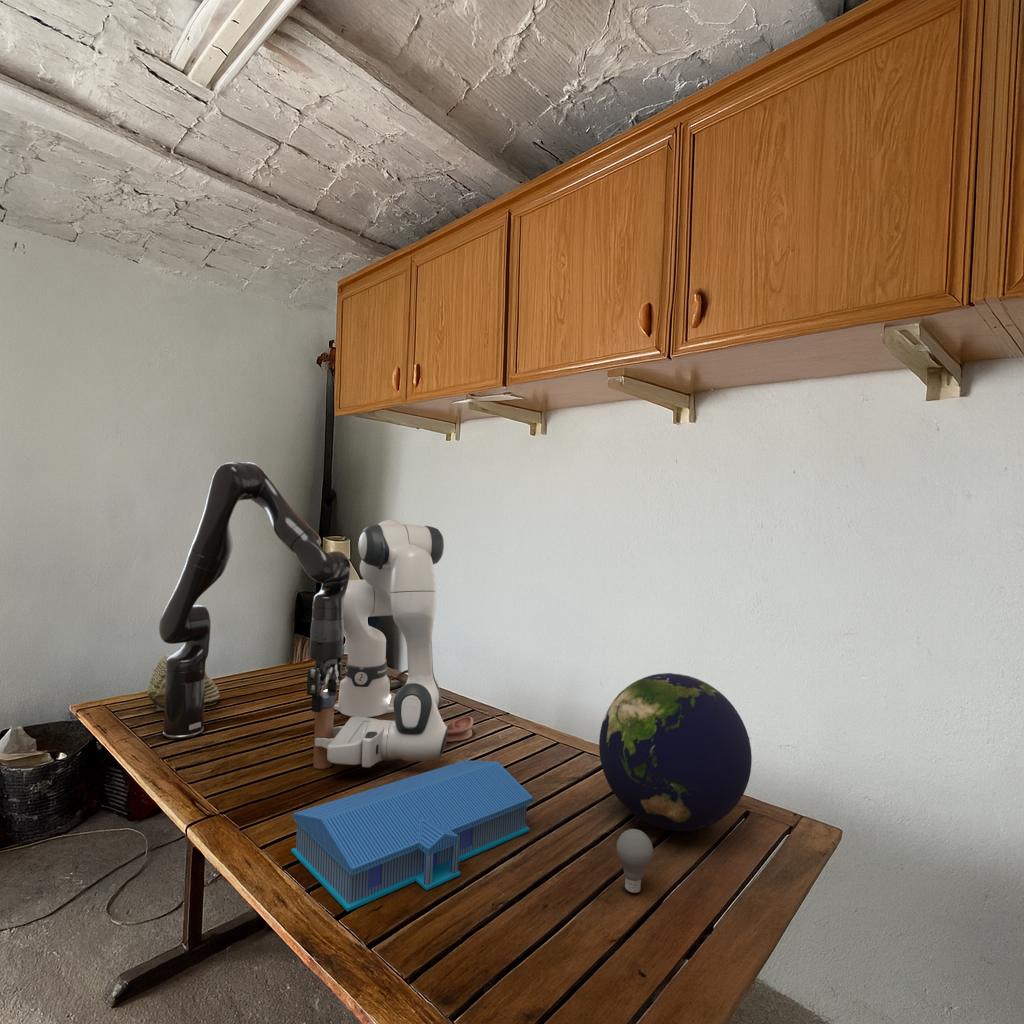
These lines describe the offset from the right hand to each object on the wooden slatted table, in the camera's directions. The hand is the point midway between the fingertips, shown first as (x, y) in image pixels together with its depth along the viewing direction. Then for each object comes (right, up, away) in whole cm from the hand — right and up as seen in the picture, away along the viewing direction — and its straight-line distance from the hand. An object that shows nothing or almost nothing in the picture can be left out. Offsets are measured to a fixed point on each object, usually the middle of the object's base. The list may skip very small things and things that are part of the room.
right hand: (319, 736), depth 149 cm
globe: (+77, -11, -20) cm, 81 cm away
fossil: (-51, -4, +36) cm, 62 cm away
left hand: (+1, +7, 0) cm, 7 cm away
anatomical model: (+28, -8, +22) cm, 36 cm away
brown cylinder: (+1, -7, 0) cm, 7 cm away
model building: (+28, -9, -32) cm, 44 cm away
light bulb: (+65, -10, -44) cm, 79 cm away
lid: (+1, +10, 0) cm, 10 cm away
